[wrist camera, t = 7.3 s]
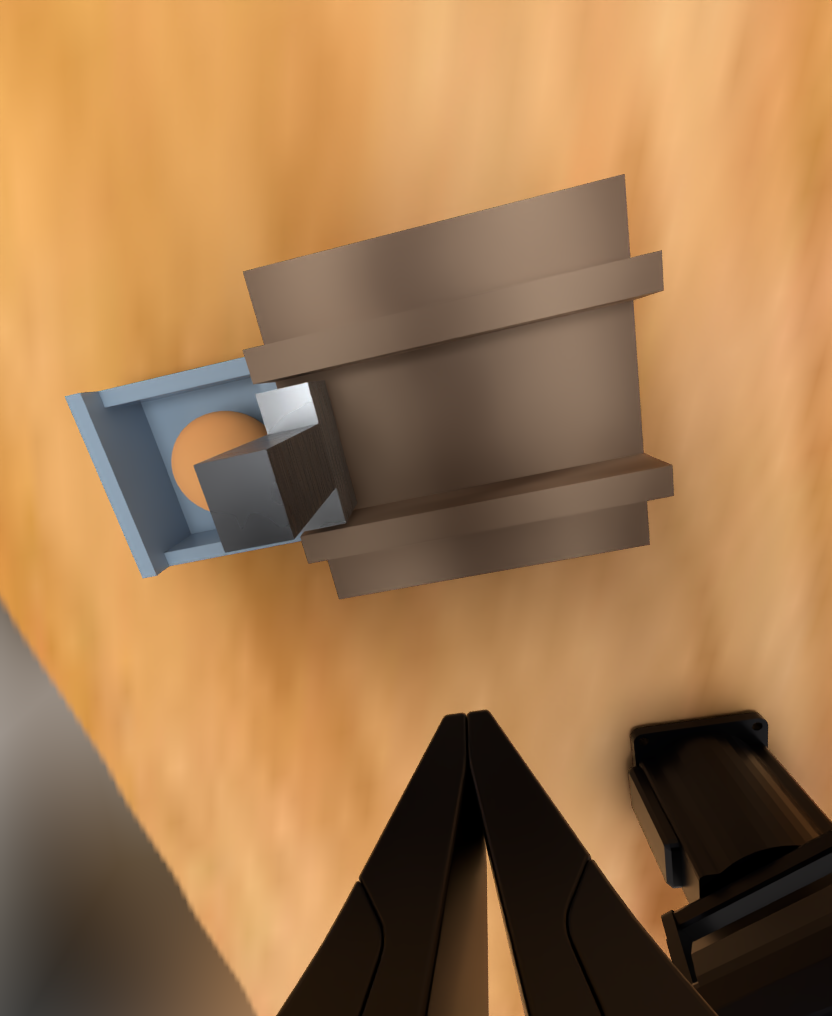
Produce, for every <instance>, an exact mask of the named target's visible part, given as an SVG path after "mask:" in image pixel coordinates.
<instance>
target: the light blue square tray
mask: <svg viewBox="0 0 832 1016" xmlns="http://www.w3.org/2000/svg"><path fill="white" fill-rule="evenodd" d="M276 389H277V386H276V383H275V382H272V383H262V384H253V382H252V379H251V376H250V373H249V369H248V366H247V363H246V360H245V357H242V358H238V359H234V360H230V361H225V362H221V363H217V364H213V365H208V366H204V367H200V368H196V369H191V370H187V371H183V372H179V373H174V374H170V375H166V376H162V377H157V378H153V379H149V380H145V381H141V382H136V383H132V384H128V385H124V386H119V387H115V388H111V389H107V390H102V391H98V392H85V393H77V394H73V395H69V396H65V398H66V401H67V403H68V405H69V408H70V410H71V412H72V415H73V417H74V419H75V422H76V424H77V426H78V429H79V431H80V433H81V436H82V438H83V440H84V443H85V445H86V447H87V450H88V452H89V454H90V457H91V459H92V461H93V464H94V466H95V468H96V471H97V473H98V475H99V478H100V480H101V482H102V485H103V487H104V489H105V492H106V494H107V496H108V499H109V501H110V503H111V506H112V508H113V510H114V513H115V515H116V517H117V520H118V522H119V524H120V526H121V529H122V531H123V533H124V536H125V538H126V540H127V543H128V545H129V547H130V550H131V552H132V554H133V557H134V559H135V561H136V564H137V566H138V568H139V571H140V573H141V575H142V578H147V577H152V576H157V575H158V574H160V573H161V572H162V571H163V570H165V569H166V568H167V567H169V566H173V565H178V564H183V563H188V562H193V561H199V560H204V559H209V558H214V557H220V556H225V555H230V554H235V553H241V552H246V551H251V550H256V549H262V548H267V547H272V546H277V545H282V544H288V543H293V542H298V541H301V538H300V536H301V535H302V533H303V532H300V533H299V534H298V536H297V537H296V538H295V539H294V540H289V541H284V542H279V543H274V544H268V545H263V546H258V547H253V548H248V549H242V550H237V551H232V552H227V553H225V551H224V549H223V546H222V543H221V540H220V538H219V535H218V532H217V529H216V527H215V524H214V521H213V518H212V516H211V513H210V511H207V510H205V509H203V508H201V507H199V506H197V505H196V504H194V503H193V502H192V501H190V500H189V499H188V498H187V497H186V496H185V495H184V493H183V492H182V491H181V489H180V488H179V486H178V485H177V483H176V480H175V478H174V475H173V471H172V465H171V457H172V451H173V447H174V444H175V442H176V439H177V437H178V436H179V434H180V433H181V431H182V430H183V429H184V428H185V427H186V426H187V425H188V424H189V423H190V422H192V421H193V420H195V419H196V418H198V417H200V416H202V415H205V414H208V413H211V412H217V411H234V412H239V413H243V414H246V415H248V416H251V417H253V418H255V419H256V420H258V421H260V422H261V423H262V424H264V421H263V418H262V415H261V411H260V408H259V405H258V402H257V399H256V395H255V394H258V393H263V392H267V391H272V390H276ZM264 425H265V424H264Z"/></svg>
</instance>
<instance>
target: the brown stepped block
mask: <svg viewBox="0 0 832 1016" xmlns="http://www.w3.org/2000/svg"><path fill="white" fill-rule="evenodd" d="M243 274H244V277H245V281H246V284H247V288H248V291H249V294H250V298H251V301H252V305H253V308H254V311H255V315H256V318H257V322H258V325H259V328H260V332H261V335H262V339H263V342H264V345H262V346H257V347H253V348H249V349H245V350H243V353H244V356H245V360H246V363H247V366H248V369H249V373H250V376H251V379H252V382H253V384H262V383H272V382H275V383H276V386H277V389H280V388H285V387H289V386H294V385H298V384H302V383H307V382H314V381H322V380H325V382H326V386H327V390H328V394H329V398H330V402H331V405H332V409H333V413H334V417H335V421H336V424H337V428H338V432H339V436H340V440H341V443H342V447H343V451H344V455H345V459H346V462H347V466H348V470H349V474H350V478H351V481H352V485H353V489H354V493H355V497H356V500H357V505H356V506H355V508H354V510H353V512H352V514H351V515H350V517H349V519H348V521H347V523H345V524H340V525H335V526H330V527H325V528H320V529H314V530H309V531H304V532H303V533H302V535H301V536H300V538H301V541H302V545H303V548H304V551H305V554H306V558H307V561H308V564H309V563H315V562H320V561H325V560H328V563H329V566H330V570H331V573H332V577H333V580H334V583H335V587H336V590H337V594H338V597H339V599H344V598H350V597H355V596H361V595H367V594H372V593H378V592H384V591H389V590H395V589H401V588H406V587H412V586H418V585H423V584H429V583H435V582H440V581H446V580H452V579H457V578H463V577H469V576H474V575H480V574H486V573H491V572H497V571H503V570H508V569H514V568H520V567H525V566H531V565H537V564H542V563H548V562H554V561H560V560H565V559H571V558H577V557H582V556H588V555H594V554H599V553H605V552H611V551H616V550H622V549H628V548H633V547H639V546H645V545H650V541H649V526H648V511H647V501H649V500H654V499H659V498H665V497H670V496H674V488H673V468H672V465H671V464H669V463H666V462H664V461H661V460H659V459H657V458H654V457H652V456H649V455H647V454H644V452H643V438H642V423H641V408H640V394H639V379H638V364H637V350H636V335H635V320H634V305H633V300H636V299H639V298H642V297H645V296H648V295H651V294H654V293H657V292H660V291H663V290H664V286H663V266H662V250H661V251H657V252H653V253H649V254H644V255H640V256H636V257H632V258H630V247H629V232H628V217H627V202H626V188H625V174H623V175H619V176H615V177H611V178H607V179H603V180H599V181H595V182H591V183H587V184H583V185H580V186H576V187H572V188H568V189H564V190H560V191H556V192H552V193H548V194H544V195H540V196H537V197H533V198H529V199H525V200H521V201H517V202H513V203H509V204H505V205H501V206H497V207H493V208H490V209H486V210H482V211H478V212H474V213H470V214H466V215H462V216H458V217H454V218H450V219H447V220H443V221H439V222H435V223H431V224H427V225H423V226H419V227H415V228H411V229H407V230H404V231H400V232H396V233H392V234H388V235H384V236H380V237H376V238H372V239H368V240H364V241H361V242H357V243H353V244H349V245H345V246H341V247H337V248H333V249H329V250H325V251H321V252H318V253H314V254H310V255H306V256H302V257H298V258H294V259H290V260H286V261H282V262H278V263H275V264H271V265H267V266H263V267H259V268H255V269H251V270H247V271H243Z"/></svg>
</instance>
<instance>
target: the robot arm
mask: <svg viewBox="0 0 832 1016" xmlns="http://www.w3.org/2000/svg"><path fill="white" fill-rule="evenodd" d="M754 723H755V724H754ZM641 738H643V739H641ZM640 739H641V740H640ZM631 748H632V758H633V767H631V768H630V770H629V772H628V774H629V784H630V795H631V805H632V808H633V810H634V812H635V814H636V817H637V819H638V821H639V823H640V826H641V828H642V830H643V832H644V834H645V837H646V839H647V841H648V843H649V846H650V848H651V850H652V852H653V854H654V857H655V859H656V861H657V863H658V866H659V868H660V870H661V872H662V874H663V877H664V879H665V881H666V883H667V884H669V885H670V886H671V887H672V888H681V887H682V889H683V892H684V894H685V896H686V898H687V900H688V902H689V905H687V906H685V907H683V908H681V909H679V910H677V911H675V912H674V911H673V910H671V911H669V912H667V913H665V914H663V915H662V916H661V918H662V922H663V926H664V929H665V933H666V937H667V939H666V941H667V945H668V949H669V952H670V956H671V960H672V962H671V960H670V959H669V958H668V957H667V955H666V954H665V953H664V952H663V951H662V949H661V948H660V947H659V946H658V945H657V943H656V942H655V941H654V940H653V938H652V937H651V936H650V935H649V934H648V932H647V931H646V930H645V929H644V928H643V926H642V925H641V924H640V923H639V921H638V920H637V919H636V918H635V916H634V915H633V914H632V912H631V911H630V909H629V908H628V907H627V905H626V904H625V903H624V901H623V900H622V899H621V897H620V896H619V895H618V893H617V892H616V891H615V889H614V888H613V887H612V885H611V884H610V882H609V881H608V880H607V878H606V877H605V875H604V874H603V873H602V871H601V870H600V868H599V867H598V865H597V864H596V863H595V861H594V860H591V856H590V854H589V853H588V852H587V850H586V849H585V847H584V846H583V844H582V843H581V841H580V840H579V839H578V837H577V836H576V834H575V833H574V831H573V830H572V829H571V827H570V826H569V824H568V823H567V821H566V820H565V819H564V817H563V816H562V814H561V813H560V811H559V810H558V809H557V807H556V806H555V804H554V803H553V801H552V800H551V799H550V797H549V796H548V794H547V793H546V791H545V790H544V789H543V787H542V786H541V784H540V783H539V781H538V780H537V779H536V777H535V776H534V774H533V773H532V771H531V770H530V769H529V767H528V766H527V764H526V763H525V761H524V760H523V759H522V757H521V756H520V754H519V753H518V751H517V750H516V749H515V747H514V746H513V744H512V743H511V741H510V740H509V739H508V737H507V736H506V734H505V733H504V731H503V730H502V728H501V727H500V726H499V724H498V723H497V721H496V720H495V718H494V717H493V716H492V714H491V713H490V712H489V711H488V710H479V711H472V712H469V713H468V714H467V715H466V714H465V713H457V714H449V715H446V716H444V718H443V719H442V721H441V723H440V725H439V727H438V729H437V731H436V733H435V734H434V736H433V738H432V740H431V742H430V744H429V746H428V748H427V750H426V751H425V753H424V755H423V757H422V759H421V761H420V763H419V765H418V766H417V768H416V770H415V772H414V774H413V776H412V778H411V780H410V782H409V783H408V785H407V787H406V789H405V791H404V793H403V795H402V797H401V799H400V800H399V802H398V804H397V806H396V808H395V810H394V812H393V814H392V816H391V817H390V819H389V821H388V823H387V825H386V827H385V829H384V831H383V833H382V834H381V836H380V838H379V840H378V842H377V844H376V846H375V848H374V850H373V851H372V853H371V855H370V857H369V859H368V861H367V863H366V865H365V867H364V868H363V870H362V872H361V874H360V876H359V881H360V882H359V881H357V882H356V883H355V885H354V887H353V889H352V891H351V892H350V894H349V896H348V898H347V900H346V902H345V904H344V906H343V907H342V909H341V911H340V913H339V915H338V916H337V918H336V920H335V922H334V923H333V925H332V927H331V929H330V931H329V932H328V934H327V936H326V938H325V940H324V941H323V943H322V945H321V946H320V948H319V949H318V951H317V953H316V954H315V956H314V957H313V959H312V961H311V962H310V964H309V965H308V967H307V969H306V970H305V972H304V973H303V975H302V977H301V978H300V980H299V981H298V983H297V985H296V986H295V988H294V989H293V991H292V992H291V994H290V995H289V997H288V998H287V1000H286V1002H285V1003H284V1005H283V1006H282V1008H281V1009H280V1011H279V1012H278V1014H277V1015H276V1016H489V1013H488V933H487V861H486V847H487V852H488V856H489V861H490V865H491V870H492V874H493V878H494V883H495V887H496V891H497V896H498V900H499V904H500V909H501V913H502V918H503V922H504V926H505V931H506V935H507V939H508V944H509V948H510V952H511V957H512V961H513V966H514V970H515V974H516V979H517V983H518V987H519V992H520V996H521V1000H522V1005H523V1009H524V1013H525V1016H832V822H831V821H830V819H829V818H828V817H827V816H826V815H825V814H824V813H823V811H822V810H821V809H820V808H819V807H818V806H817V804H816V803H815V802H814V801H813V800H812V799H811V798H810V796H809V795H808V794H807V793H806V792H805V791H804V790H803V788H802V787H801V786H800V785H799V784H798V783H797V782H796V780H795V779H794V778H793V777H792V776H791V775H790V774H789V772H788V771H787V770H786V769H785V768H784V767H783V766H782V764H781V763H780V762H779V761H778V760H777V759H776V758H775V756H774V755H773V754H772V753H771V752H770V751H769V749H768V723H767V721H766V720H765V719H764V718H763V717H762V716H761V715H760V714H759V713H754V712H752V713H744V714H737V715H730V716H723V717H715V718H708V719H701V720H694V721H686V722H679V723H672V724H665V725H657V726H650V727H643V728H638V729H635V730H634V731H633V732H632V733H631ZM485 842H486V843H485Z"/></svg>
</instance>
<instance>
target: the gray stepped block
mask: <svg viewBox="0 0 832 1016" xmlns="http://www.w3.org/2000/svg"><path fill="white" fill-rule="evenodd" d="M255 395H256V399H257V402H258V405H259V408H260V411H261V415H262V418H263V421H264V424H265V428H266V431H267V434H268V435H265V436H263V437H260V438H258V439H256V440H253V441H251V442H248V443H246V444H243V445H241V446H239V447H236V448H234V449H231V450H229V451H226V452H224V453H222V454H219V455H217V456H214V457H212V458H209V459H207V460H205V461H202V462H200V463H197V464H195V465H193V466H194V469H195V472H196V474H197V477H198V480H199V483H200V485H201V488H202V491H203V494H204V496H205V499H206V502H207V505H208V507H209V510H210V513H211V516H212V518H213V521H214V524H215V527H216V529H217V532H218V535H219V538H220V540H221V543H222V546H223V549H224V551H225V553H227V552H232V551H237V550H242V549H248V548H253V547H258V546H263V545H268V544H274V543H279V542H284V541H289V540H294V539H295V538H296V537H297V536H298V534H299V533H300V532H304V531H309V530H314V529H320V528H325V527H330V526H335V525H340V524H345V523H347V521H348V519H349V517H350V515H351V514H352V512H353V510H354V508H355V506H356V505H357V500H356V497H355V493H354V489H353V485H352V481H351V478H350V474H349V470H348V466H347V462H346V459H345V455H344V451H343V447H342V443H341V440H340V436H339V432H338V428H337V424H336V421H335V417H334V413H333V409H332V405H331V402H330V398H329V394H328V390H327V386H326V382H325V380H322V381H314V382H307V383H302V384H298V385H294V386H289V387H285V388H280V389H276V390H272V391H267V392H263V393H258V394H255Z"/></svg>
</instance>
